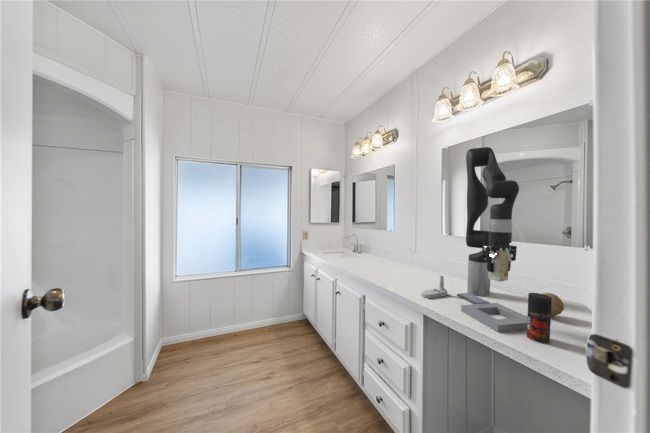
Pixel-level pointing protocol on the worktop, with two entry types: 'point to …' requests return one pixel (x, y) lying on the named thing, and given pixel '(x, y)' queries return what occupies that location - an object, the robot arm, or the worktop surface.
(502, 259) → the skincare box
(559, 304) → the natural sponge
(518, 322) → the plate
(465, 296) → the plate
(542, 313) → the deodorant
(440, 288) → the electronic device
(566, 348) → the worktop surface
